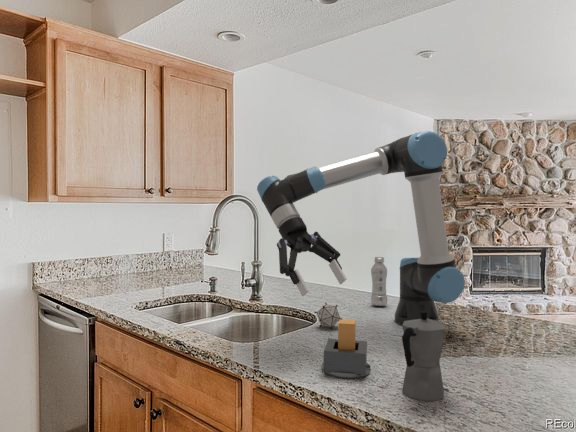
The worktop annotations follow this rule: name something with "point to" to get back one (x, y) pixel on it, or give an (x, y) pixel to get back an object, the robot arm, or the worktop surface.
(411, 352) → the coffeepot
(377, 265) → the plastic bottle
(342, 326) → the orange rectangular block
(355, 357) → the socket collar
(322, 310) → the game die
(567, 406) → the worktop surface
